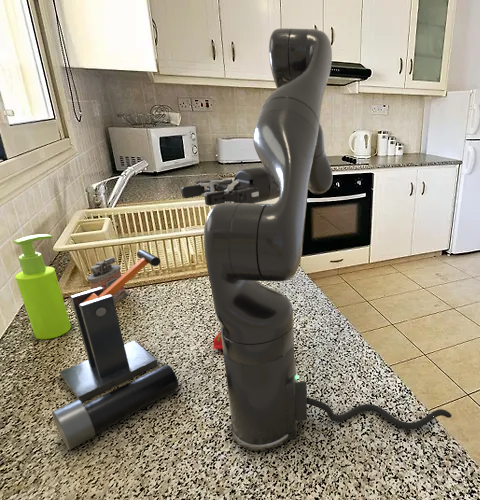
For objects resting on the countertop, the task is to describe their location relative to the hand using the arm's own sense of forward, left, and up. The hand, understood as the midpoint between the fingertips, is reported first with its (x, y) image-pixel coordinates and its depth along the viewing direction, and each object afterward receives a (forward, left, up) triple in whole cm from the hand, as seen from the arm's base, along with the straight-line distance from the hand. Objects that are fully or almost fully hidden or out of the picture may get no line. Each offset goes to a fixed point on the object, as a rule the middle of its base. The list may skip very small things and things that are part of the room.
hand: (193, 196), depth 72 cm
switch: (+9, +13, -13) cm, 20 cm away
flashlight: (+6, +26, -27) cm, 38 cm away
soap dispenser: (+30, +2, -27) cm, 41 cm away
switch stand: (+13, +16, -27) cm, 34 cm away
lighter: (+25, -10, -27) cm, 38 cm away
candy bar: (-7, +5, -27) cm, 29 cm away
